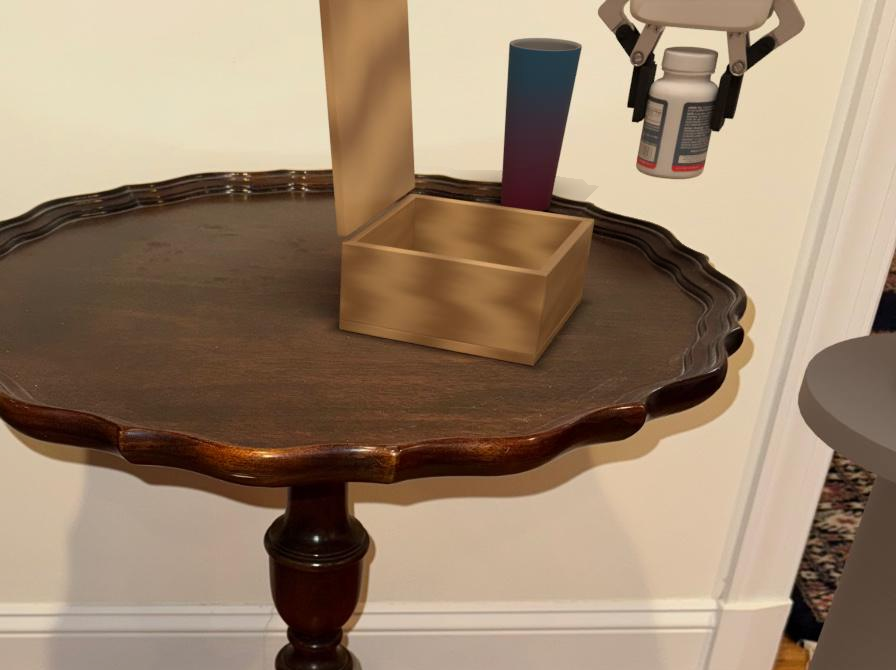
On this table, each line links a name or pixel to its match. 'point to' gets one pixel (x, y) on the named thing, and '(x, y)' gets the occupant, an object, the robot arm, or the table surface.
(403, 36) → the lid
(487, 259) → the chest
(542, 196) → the cup
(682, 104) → the pill bottle
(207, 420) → the table surface
